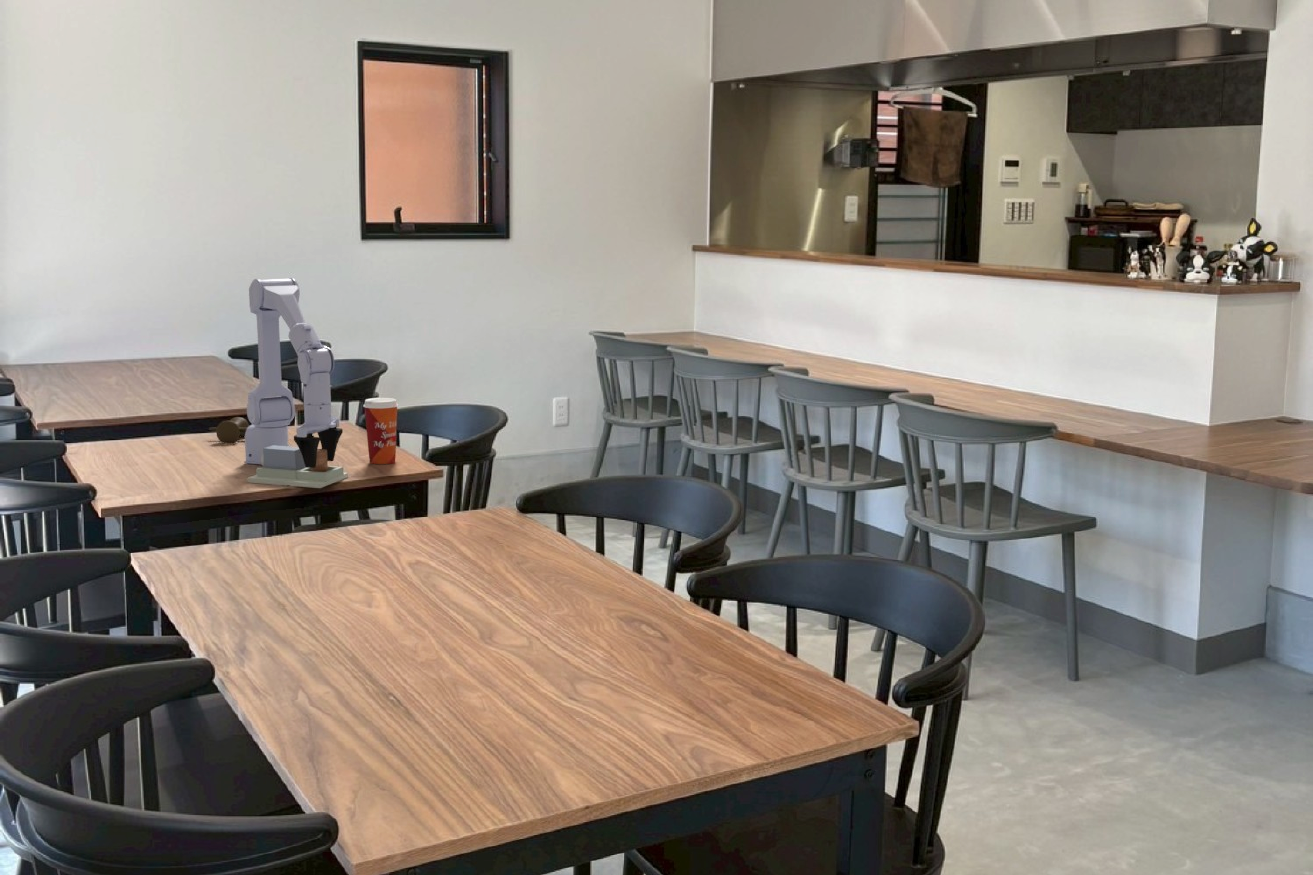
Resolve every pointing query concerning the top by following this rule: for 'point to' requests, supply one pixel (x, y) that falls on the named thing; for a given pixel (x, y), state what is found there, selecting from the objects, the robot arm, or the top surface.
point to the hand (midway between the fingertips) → (319, 464)
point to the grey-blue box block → (282, 458)
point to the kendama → (231, 429)
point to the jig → (298, 477)
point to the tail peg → (321, 461)
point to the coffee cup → (381, 429)
